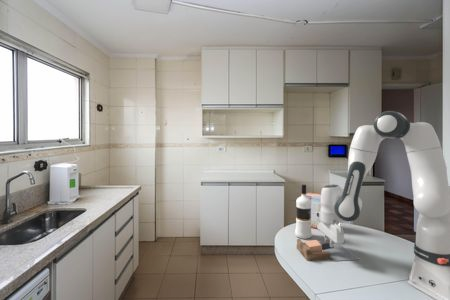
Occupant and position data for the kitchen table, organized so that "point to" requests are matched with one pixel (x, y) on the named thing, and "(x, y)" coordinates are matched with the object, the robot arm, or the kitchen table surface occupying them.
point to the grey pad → (340, 253)
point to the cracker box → (314, 207)
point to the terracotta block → (317, 245)
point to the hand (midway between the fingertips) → (329, 245)
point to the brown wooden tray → (311, 255)
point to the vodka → (303, 216)
